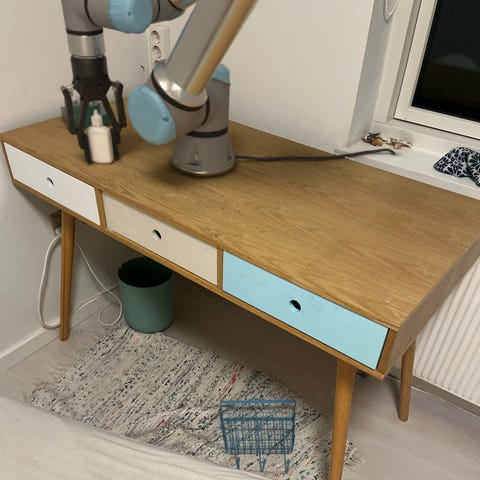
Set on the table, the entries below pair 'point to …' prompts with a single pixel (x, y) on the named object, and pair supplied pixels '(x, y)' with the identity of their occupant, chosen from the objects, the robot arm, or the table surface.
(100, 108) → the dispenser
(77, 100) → the pale grey short cylinder
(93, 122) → the eye dropper bottle
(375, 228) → the table surface
